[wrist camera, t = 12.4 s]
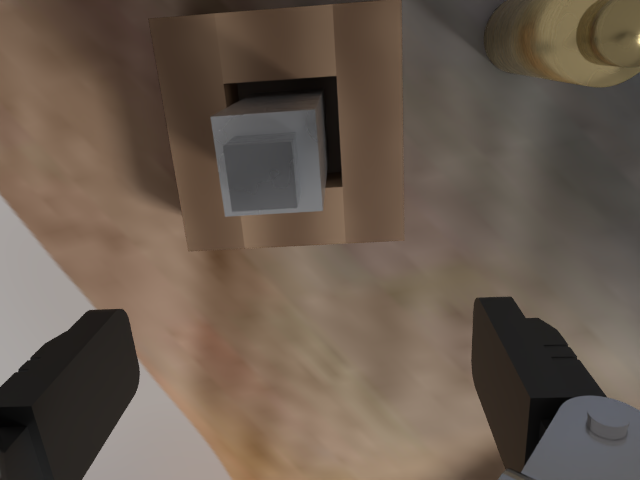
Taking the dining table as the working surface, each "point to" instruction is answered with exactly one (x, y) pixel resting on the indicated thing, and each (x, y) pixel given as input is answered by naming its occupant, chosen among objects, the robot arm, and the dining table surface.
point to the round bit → (567, 40)
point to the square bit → (272, 153)
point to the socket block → (284, 75)
